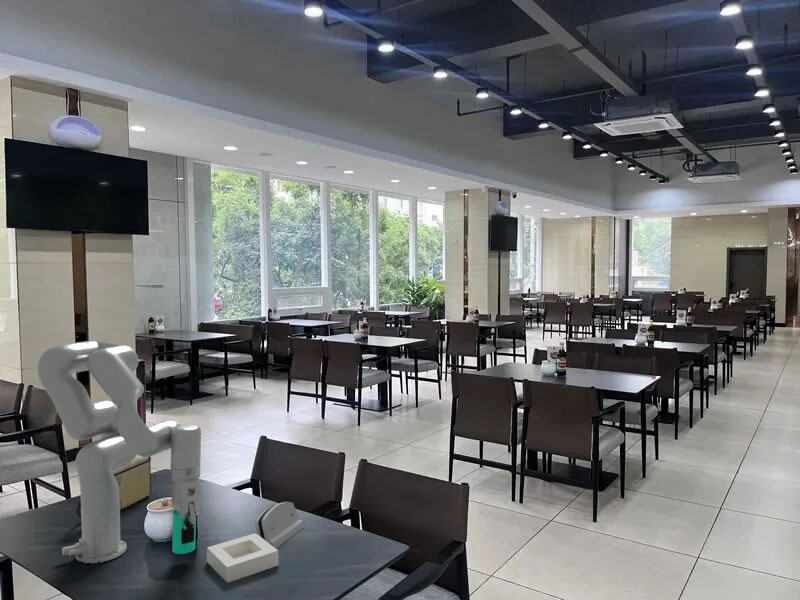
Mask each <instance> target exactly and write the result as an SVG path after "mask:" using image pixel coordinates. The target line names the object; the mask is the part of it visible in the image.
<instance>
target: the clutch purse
mask: <svg viewBox="0 0 800 600" xmlns="http://www.w3.org/2000/svg"><path fill="white" fill-rule="evenodd" d="M151 457H152V456H150V457H142V456H141V457H140V458H137V459H134V460H133V461H131V462H130V463H128V464H126V465H124V466H122V467H120V468H118V469H116V470H114V471H113V475H114V477H115V479H116V480H117V482H118V485H119V500H120V510H121V509H123V508H125V507H127V506H129V505H131V504H133V503H135V502H137V501H139V500H141V499H143V498H144V499H146V498H147V497H146V496H149V495H150V496H151V492H152V479H151V478H152V474H151V471H152V469H151V468H152V467H151V461H152V458H151ZM150 496H149V497H150ZM145 497H146V498H145ZM144 499H143V500H144ZM141 501H142V500H141ZM139 502H140V501H139ZM137 503H138V502H137ZM135 504H136V503H135ZM133 505H134V504H133ZM131 506H132V505H131ZM129 507H130V506H129ZM127 508H128V507H127ZM125 509H126V508H125ZM123 510H124V509H123ZM121 511H122V510H121ZM76 515H77V517H78V518H80V519H81V499H80V501H79V502H78V504H77V507H76Z"/></svg>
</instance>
